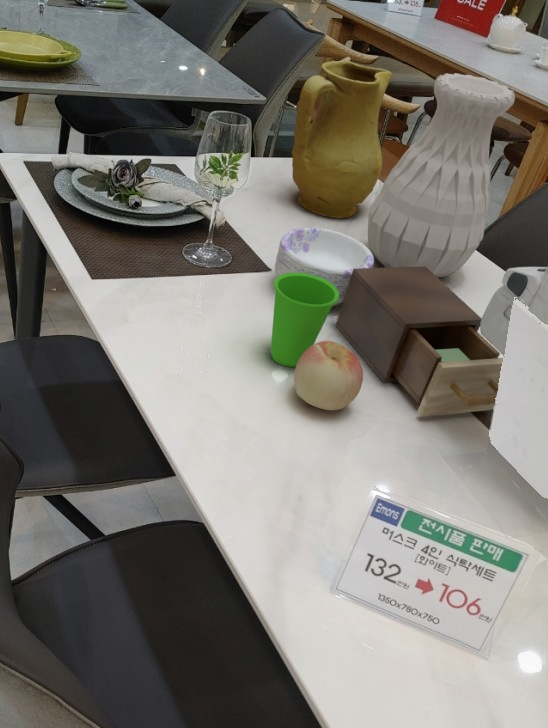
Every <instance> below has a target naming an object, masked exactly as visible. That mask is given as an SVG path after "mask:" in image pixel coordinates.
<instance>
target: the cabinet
mask: <svg viewBox="0 0 548 728" xmlns="http://www.w3.org/2000/svg"><path fill="white" fill-rule="evenodd" d="M481 319H482V317H481V316H480V315H479V314H477V312H476V311H475V310H473V309H472V308H471V307H470V306H469V305H468V304H467V303H465V301H464V300H462V298H460V297H459V296H458V295H457V294H456V293H455V292H454V291H453V290H451V289H450V287H448V286H447V285H446V284H445V283H444V282H443V281H442V280H441V279H439V277H438V278H437V277H436V276H435V275H434V274H433V273H432V272H431V271H430V270H429V269H428V268H426V267H393V268H385V267H372V268H357V269H353V272H352V275H351V278H350V281H349V284H348V288H347V291H346V294H345V297H344V300H343V302H342V303H341V307H340V309H339V313H338V316H337V319H336V323H335V327H336V328H337V329H338V331H339V332H340V333H341V334H342V335H343V337H344V338H345V339H346V340H347V341H348V342H349V344H350V345H351V346H352V347H353V349H354V350H355V351H356V352H357V353H358V355H359V356H360V357H361V358H362V359H363V360H364V362H365V363H366V364H367V366H368V367H369V368H370V369H371V370H372V371H373V372H374V373H375V375H376V376H377V378H378V379H379V380H380V381H381V382H382V383H383V384H384V383H400V382H399V381H398V380H397V379H396V377H395V376H394V375H393V374H392V373H391V372H392V370H393V367H394V365H395V362H396V360H397V357H398V355H399V352H400V349H401V347H402V344H403V342H404V339H405V337H406V334H407V332H408V328H426V327H444V326H462V325H471V326H472V327H473V328H474V329H475V330H476V331H477V332H478V333H479V330H480V322H481Z"/></svg>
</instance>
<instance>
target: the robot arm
mask: <svg viewBox="0 0 548 728" xmlns="http://www.w3.org/2000/svg"><path fill="white" fill-rule="evenodd" d="M501 283H502V286H500V287H499V288H498V289H496V290H495V292H494V294H493V295H492V297H491V299H490V301H489V302H488V303H487V306H486V309H485V310H484V312H483V314H482V317H481V318H482V319H481V322H480V327H479V330H480V331H479V332H480V335H481V336H482V337H483V338H484V339H485V340H486V341H487V342H488V343H490V344H491V345H492V346H493V347H494V348H495V349H496V350H497V351H498V352H499V353H500V355H502V356H504V354H505V348H506V341H507V334H508V327H509V321H510V315H511V309H512V305H513V301H514V297H517V298H515V300H516V299H518V300H519V301H521V302H522V303H523V304H525V306H526V305H527V306H528V307H529V309H528V310H529V311H530V312H531V313H532V314H534V315H535V316H536V317H537V318H538V319H539V320H540V321H541V322H543V323H544V324H547V325H548V266H518V267H517V266H516V267H509V268H507V269H506V271H505V273H504V274H503V277H502V280H501ZM521 299H522V300H523V301H524V302H523V301H522V300H521Z"/></svg>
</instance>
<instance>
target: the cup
mask: <svg viewBox="0 0 548 728" xmlns="http://www.w3.org/2000/svg"><path fill="white" fill-rule="evenodd" d="M273 288H274V290H275V291H274V304H273V317H272V329H271V343H270V354H271V355H270V356H271V359H272V360H273V361H274V362H276V363H277V364H279V365H281V366H283V367H290V368H296V365H297V363H298V361H299V359H300V357H301V356H302V354H303V353H304V352H305V351H306V350H307V349H308V348H309V347H310V346H312V345H314V344H315V342H316V340H317V338H318V336H319V334H320V332H321V330H322V328H323V326H324V325H325V322H326V320H327V318H328V316H329V314H330V312H331V310H332V308H333V307H334V306H333V304H334V303H336V302H337V301H338V299H339V292H338V290H337V288H336V287H335V286H334V285H333V284H331V283H330V282H328V281H327V280H325V279H323V278H321V277H318V276H315V275H311V274H306V273H286V274H283V275H280V276H277V277H276V278H275V279H274V281H273Z"/></svg>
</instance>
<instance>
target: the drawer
mask: <svg viewBox="0 0 548 728" xmlns="http://www.w3.org/2000/svg"><path fill="white" fill-rule="evenodd" d="M455 348H459V349H460V350H461V351H462V352H463V353H464V354H465V355H466V356H467V357H468V358H469V359H470V360H467V361H453V362H440V361H441V359H442V357H441V356H440V355H439V354H438V353H437V352H436V350H439V349H455ZM500 355H501V353H500V352H499V351H498V350H497V349H496V348H495V347H494V346H493V345H492V344H491V343H490V342H489V341H488V340H487V339H486V338H485V337H484V336H483V335H482V334H481V333H480V332H479V331H478V332H477V331H476V330H475V329H474V328H473V327H472V326H471V325H462V326H444V327H426V328H408V332H407V334H406V337H405V339H404V342H403V344H402V347H401V349H400V352H399V355H398V357H397V360H396V362H395V365H394V367H393V370H392V372H391V373H392V374H393V375H394V376H395V377H396V379H397V380H398V381H399V382H398V383H399V384H400V385H401V386H402V387H403V388H404V389H405V391H406V392H407V393H408V394H409V395H410V397H412V399H413V400H414V401H415V402H416V403H417V404H419V406H418V409H417V413H418V414H419V415H420V416H421V417H431V416H441V415H451V414H463V413H474V412H481V411H482V412H484V411H485V412H486V411H492V410H493V407H494V406H495V405H496V404H495V398H496V395H497V394H496V393H497V391H498V383H499V378H500V371H501V366H502V362H503V358H504V357H499V356H500ZM494 404H495V405H494ZM493 405H494V406H493Z"/></svg>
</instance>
